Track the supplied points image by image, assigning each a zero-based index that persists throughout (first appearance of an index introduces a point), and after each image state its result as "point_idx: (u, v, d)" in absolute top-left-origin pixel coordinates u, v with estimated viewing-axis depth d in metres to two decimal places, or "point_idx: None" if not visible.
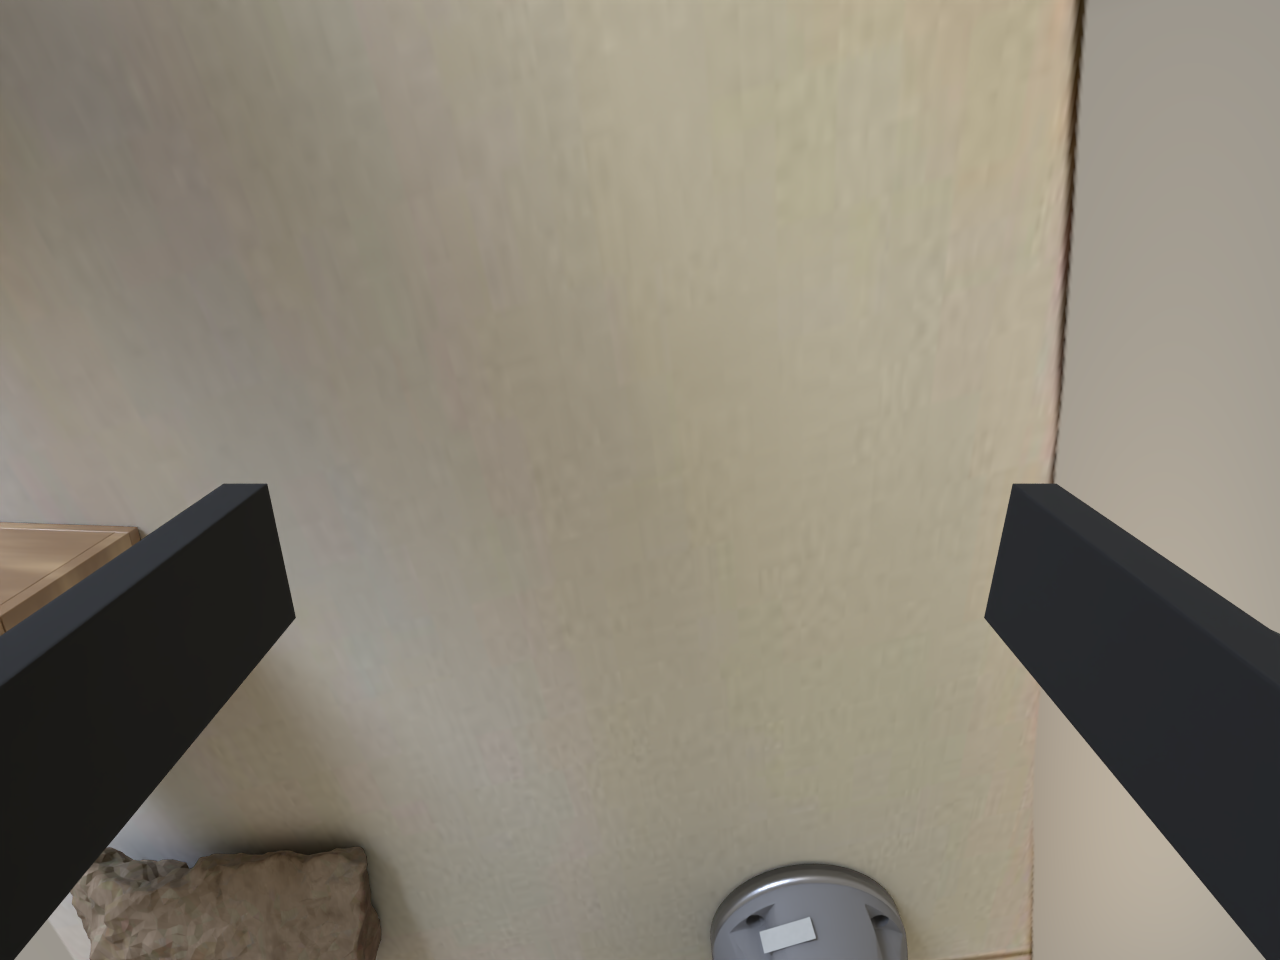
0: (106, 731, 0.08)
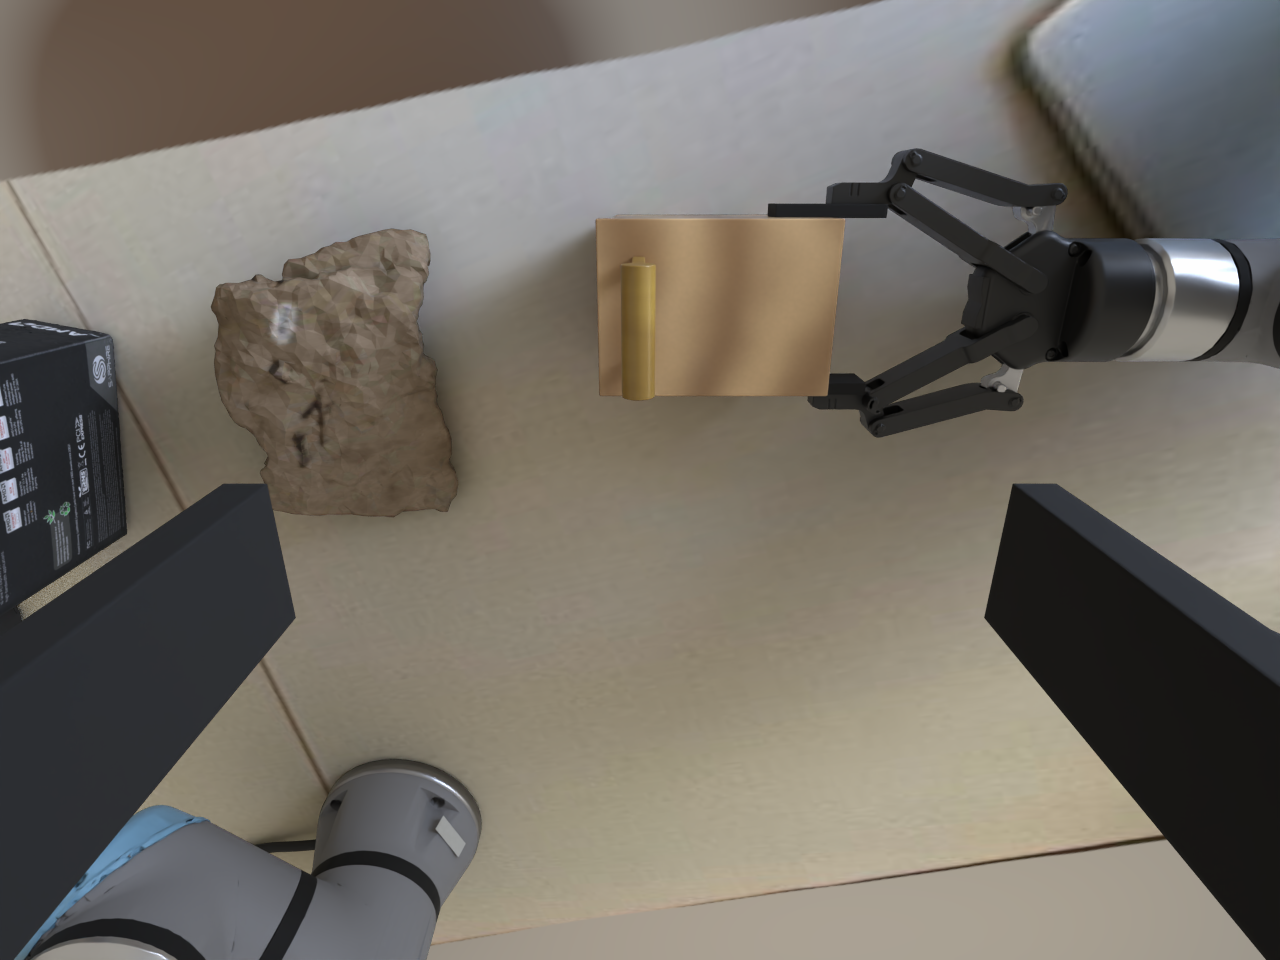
0: (106, 731, 0.08)
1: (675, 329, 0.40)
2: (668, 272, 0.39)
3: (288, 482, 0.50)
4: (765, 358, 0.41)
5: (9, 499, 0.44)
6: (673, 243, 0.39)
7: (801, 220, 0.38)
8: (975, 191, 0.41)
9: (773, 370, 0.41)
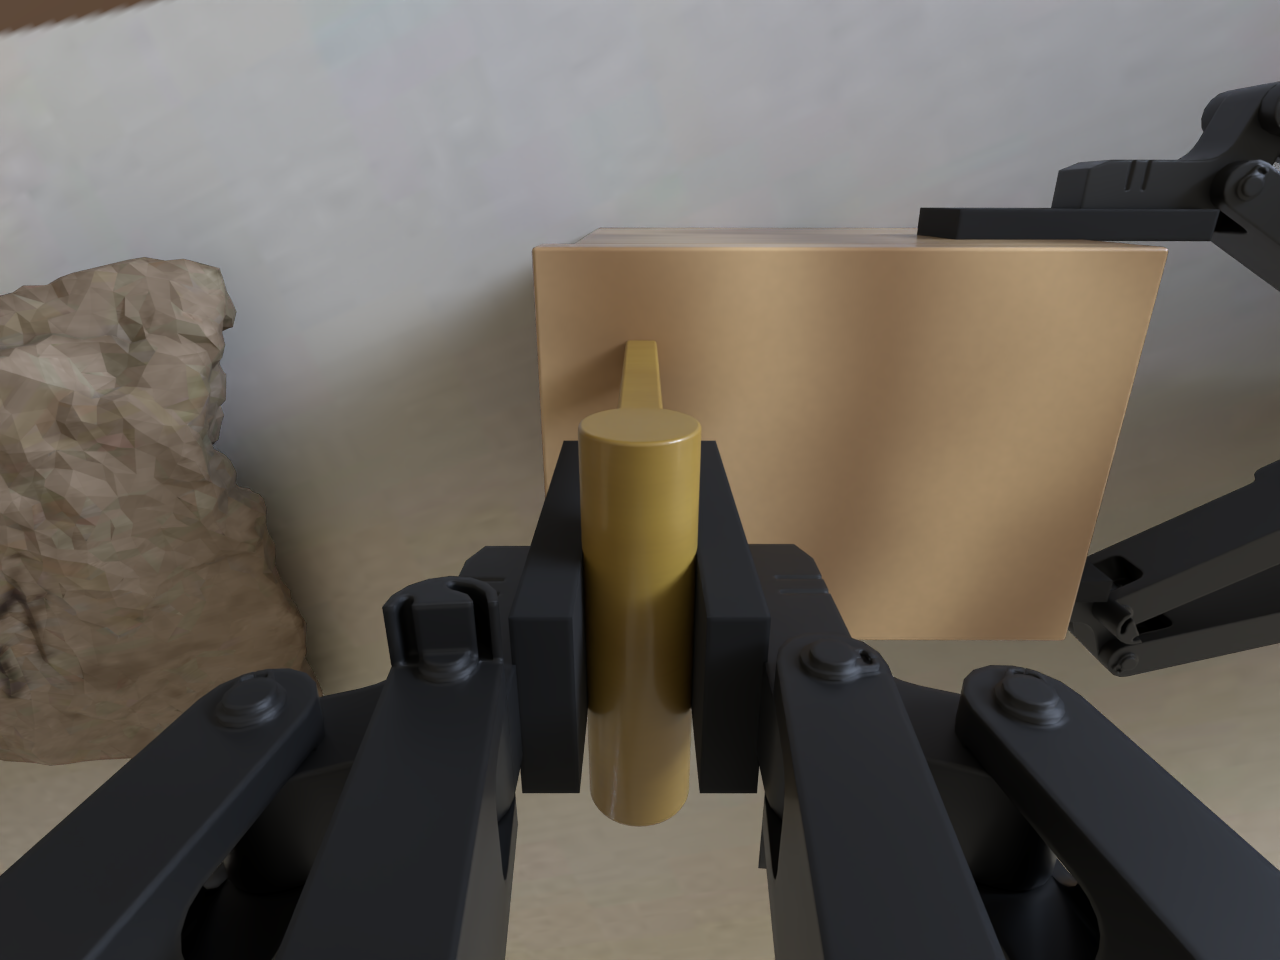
0: None
1: None
2: (714, 377, 0.16)
3: None
4: (934, 564, 0.18)
5: None
6: (729, 307, 0.15)
7: (1057, 252, 0.15)
8: None
9: (949, 590, 0.18)
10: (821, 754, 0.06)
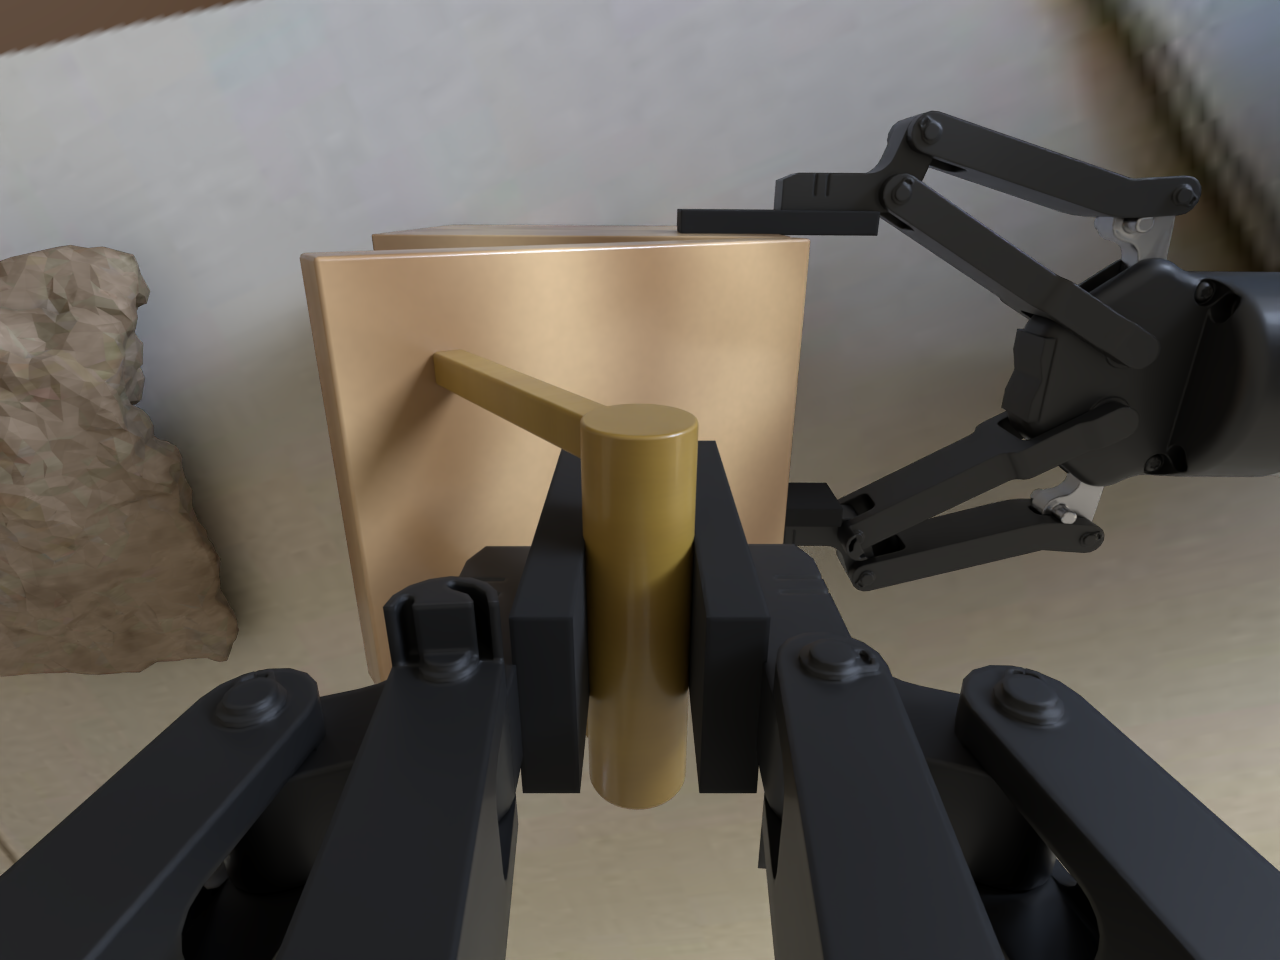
0: None
1: (544, 501, 0.17)
2: None
3: None
4: None
5: None
6: (527, 308, 0.16)
7: (752, 244, 0.19)
8: (1036, 189, 0.23)
9: None
10: (821, 754, 0.06)
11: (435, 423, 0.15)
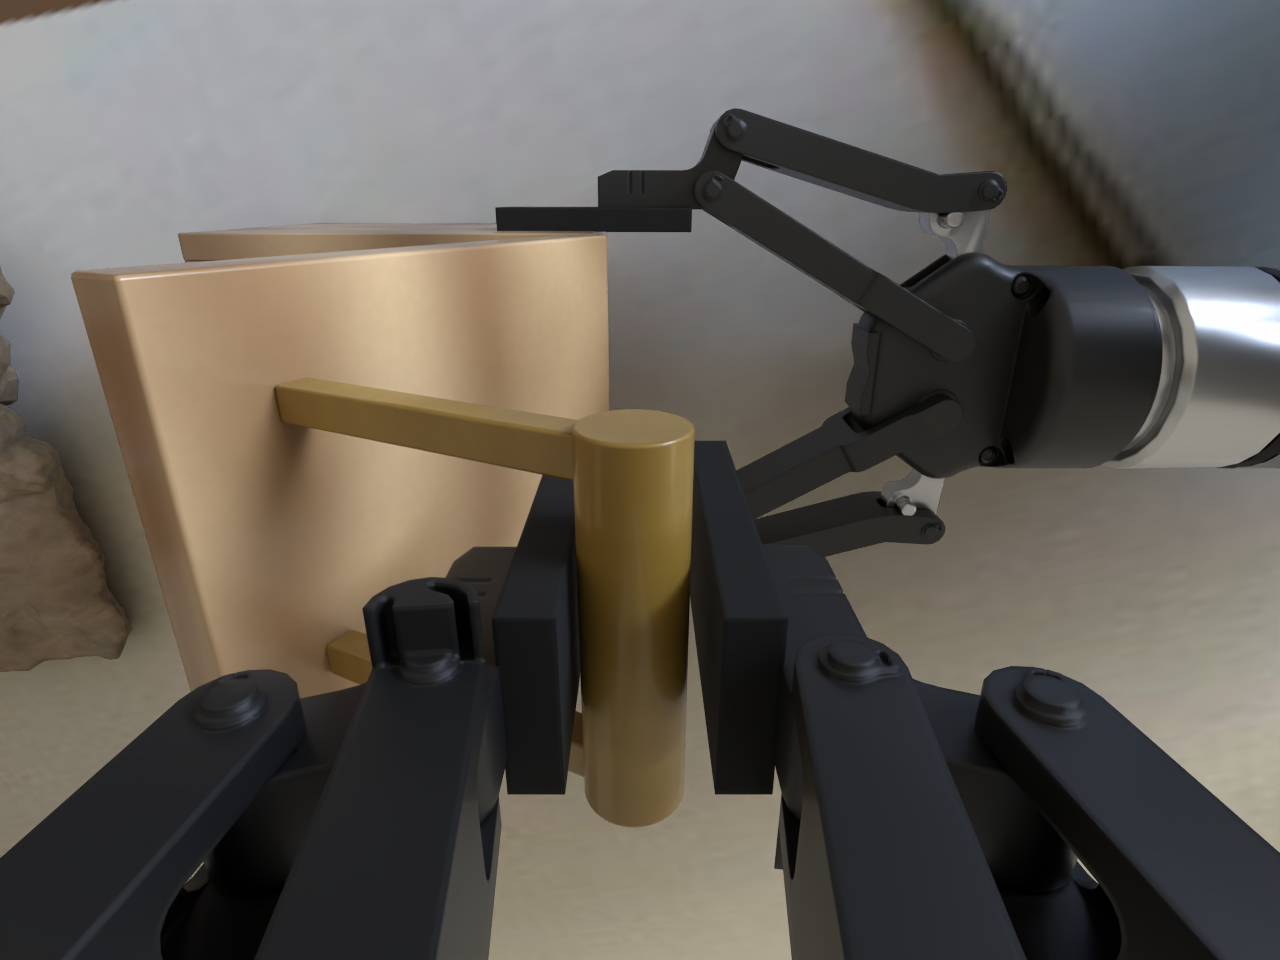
0: (574, 623, 0.11)
1: (407, 537, 0.15)
2: None
3: None
4: None
5: None
6: (370, 322, 0.14)
7: (564, 242, 0.19)
8: (845, 185, 0.23)
9: None
10: (840, 755, 0.06)
11: (285, 469, 0.12)
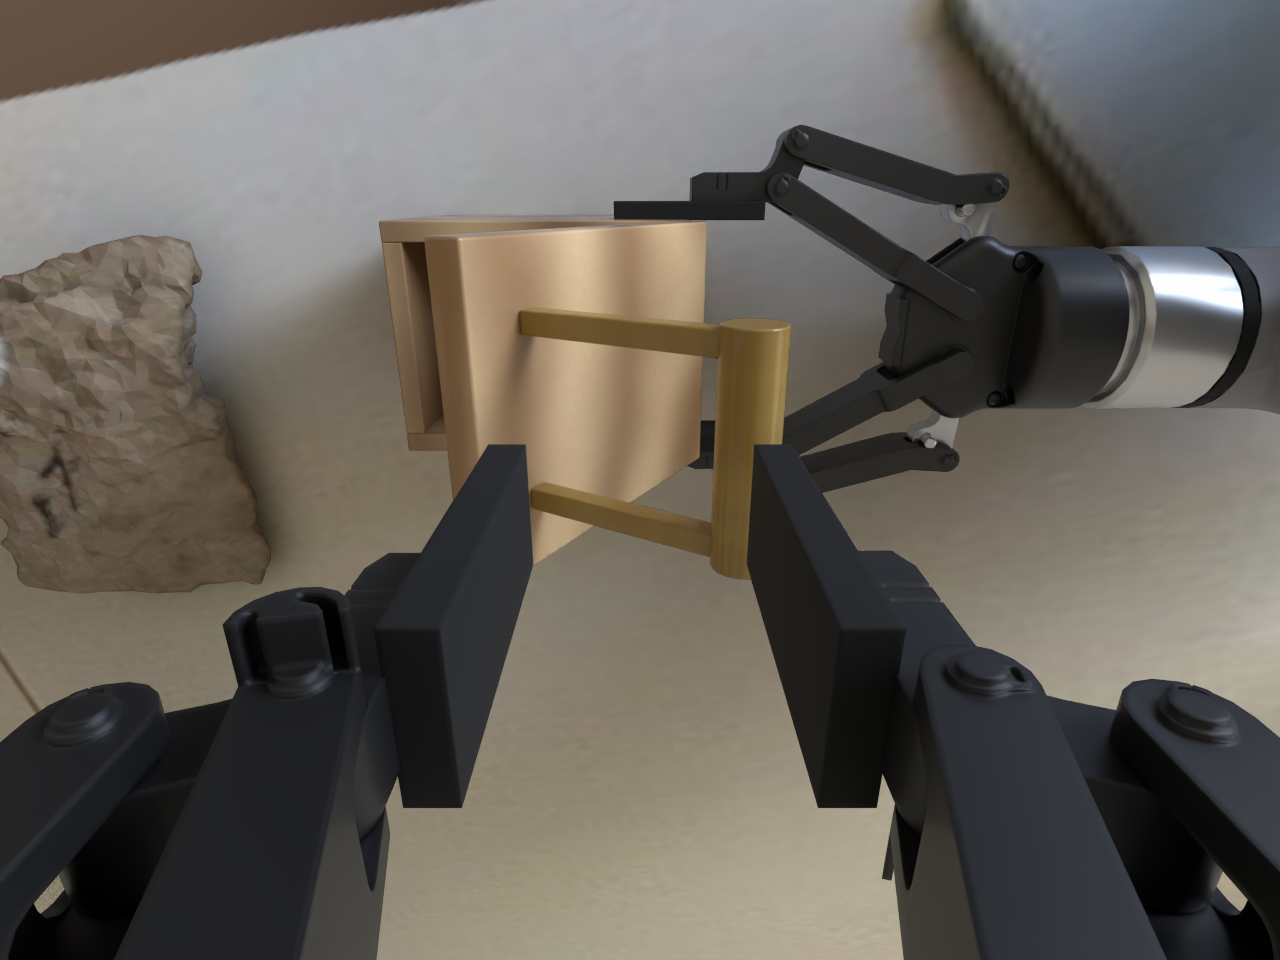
0: (485, 632, 0.10)
1: (576, 426, 0.23)
2: None
3: (37, 556, 0.40)
4: (658, 431, 0.27)
5: None
6: (567, 275, 0.21)
7: (679, 226, 0.26)
8: (883, 183, 0.30)
9: (664, 445, 0.28)
10: (971, 767, 0.06)
11: (520, 365, 0.20)
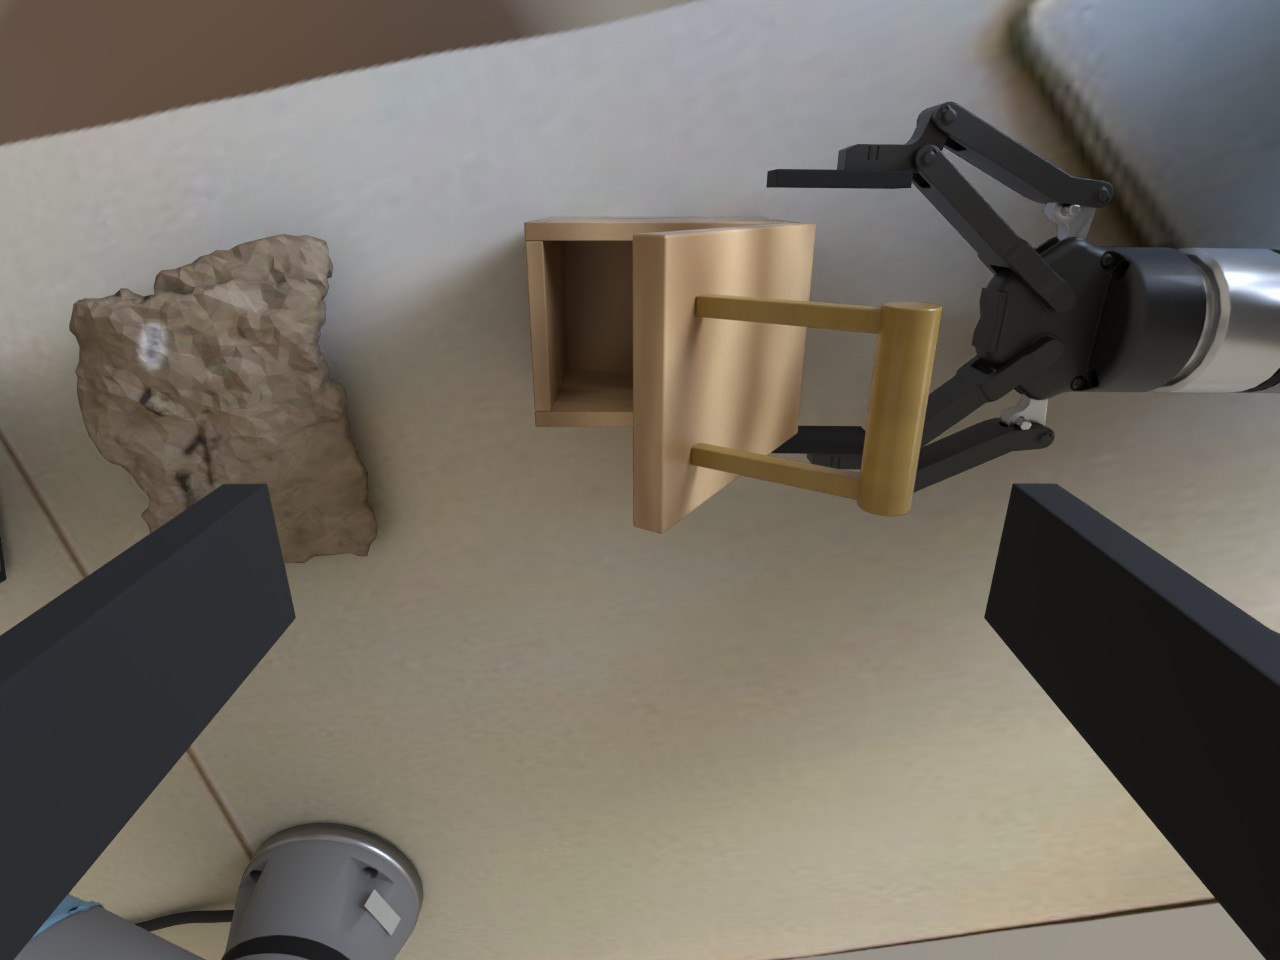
0: (106, 731, 0.08)
1: (722, 396, 0.27)
2: None
3: None
4: (772, 406, 0.31)
5: None
6: (726, 267, 0.25)
7: (798, 227, 0.30)
8: (1009, 171, 0.34)
9: (775, 419, 0.32)
10: None
11: (692, 342, 0.24)
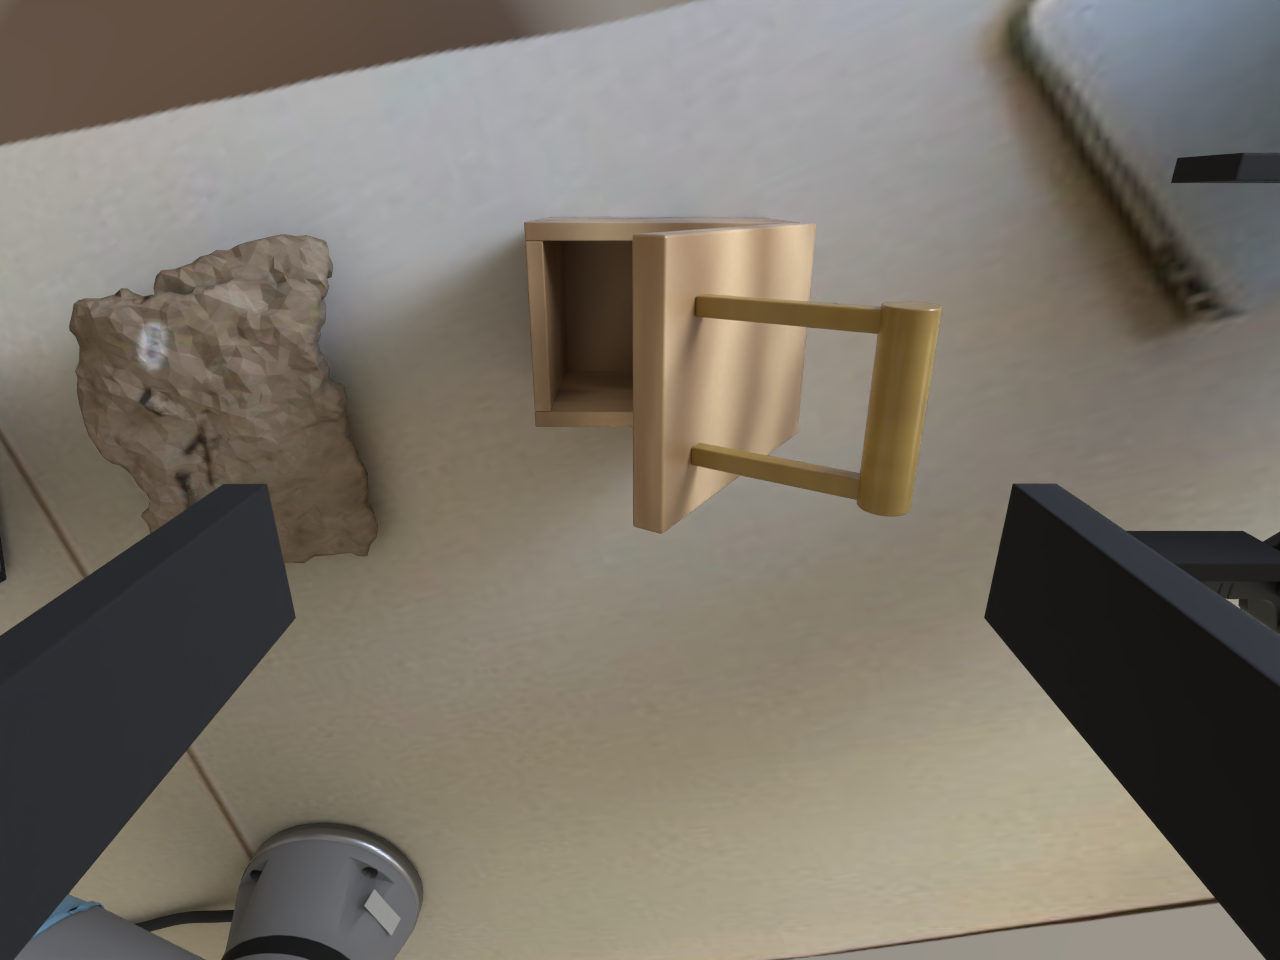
0: (106, 731, 0.08)
1: (722, 396, 0.27)
2: None
3: None
4: (772, 406, 0.31)
5: None
6: (726, 267, 0.25)
7: (798, 227, 0.30)
8: None
9: (775, 419, 0.32)
10: None
11: (692, 342, 0.24)
